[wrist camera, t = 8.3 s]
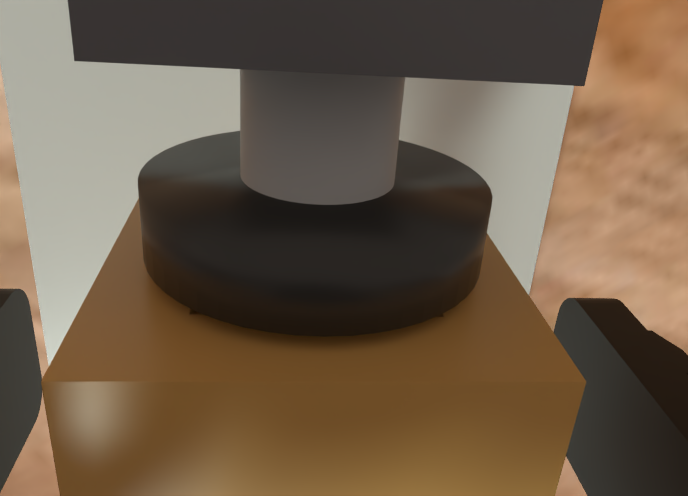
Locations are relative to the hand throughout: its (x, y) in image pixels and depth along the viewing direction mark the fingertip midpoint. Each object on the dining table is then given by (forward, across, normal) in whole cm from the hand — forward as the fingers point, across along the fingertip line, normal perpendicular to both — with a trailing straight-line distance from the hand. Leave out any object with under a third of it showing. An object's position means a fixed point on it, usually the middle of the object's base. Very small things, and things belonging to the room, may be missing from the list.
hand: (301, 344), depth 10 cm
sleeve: (0, 0, 0) cm, 0 cm away
